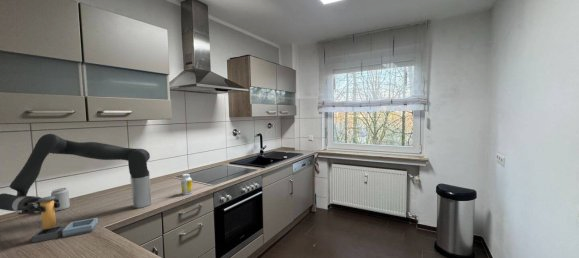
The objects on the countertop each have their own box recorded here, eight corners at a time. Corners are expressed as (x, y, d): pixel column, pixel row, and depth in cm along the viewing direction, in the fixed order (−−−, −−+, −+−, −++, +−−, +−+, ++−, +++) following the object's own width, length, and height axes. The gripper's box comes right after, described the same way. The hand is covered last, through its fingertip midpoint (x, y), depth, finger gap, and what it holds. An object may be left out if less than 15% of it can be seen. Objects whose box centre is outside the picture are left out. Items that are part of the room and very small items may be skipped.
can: (49, 210, 138) (47, 190, 138) (65, 206, 145) (63, 186, 145) (57, 212, 135) (55, 191, 135) (72, 207, 143) (71, 187, 142)
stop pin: (44, 225, 106) (41, 197, 106) (59, 223, 109) (57, 195, 108) (38, 230, 102) (35, 200, 101) (54, 227, 104) (51, 198, 103)
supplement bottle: (193, 191, 164) (192, 173, 164) (191, 194, 158) (190, 175, 157) (183, 192, 163) (182, 173, 163) (180, 195, 157) (179, 176, 156)
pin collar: (41, 234, 107) (41, 229, 107) (65, 230, 111) (65, 224, 111) (32, 242, 100) (31, 237, 100) (58, 237, 103) (57, 232, 103)
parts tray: (71, 228, 112) (71, 222, 112) (98, 223, 117) (97, 217, 117) (63, 237, 103) (62, 230, 103) (91, 231, 108) (91, 225, 108)
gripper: (5, 202, 102) (28, 204, 97) (47, 191, 116) (70, 193, 110) (6, 219, 103) (30, 222, 97) (48, 206, 116) (71, 209, 111)
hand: (51, 207), depth 104 cm, fingers closed on stop pin, 4 cm apart
